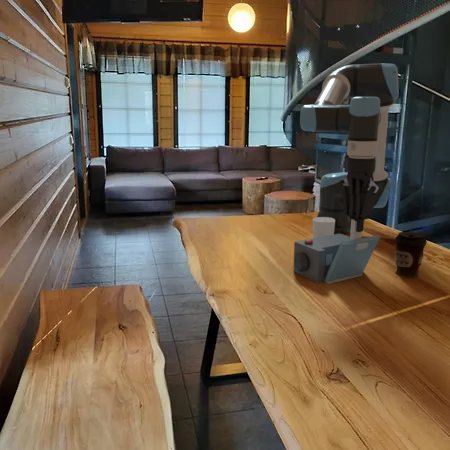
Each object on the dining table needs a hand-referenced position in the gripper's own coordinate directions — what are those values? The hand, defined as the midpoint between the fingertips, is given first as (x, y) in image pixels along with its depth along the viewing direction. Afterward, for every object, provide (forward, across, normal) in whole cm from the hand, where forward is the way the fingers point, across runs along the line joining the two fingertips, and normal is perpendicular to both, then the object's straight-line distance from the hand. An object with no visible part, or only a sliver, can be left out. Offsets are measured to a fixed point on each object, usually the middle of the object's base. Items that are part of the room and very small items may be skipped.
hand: (355, 242), depth 128 cm
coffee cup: (+13, +3, +19) cm, 23 cm away
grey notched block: (+13, -10, 0) cm, 16 cm away
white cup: (+13, -32, +17) cm, 39 cm away
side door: (+12, -3, 0) cm, 12 cm away
